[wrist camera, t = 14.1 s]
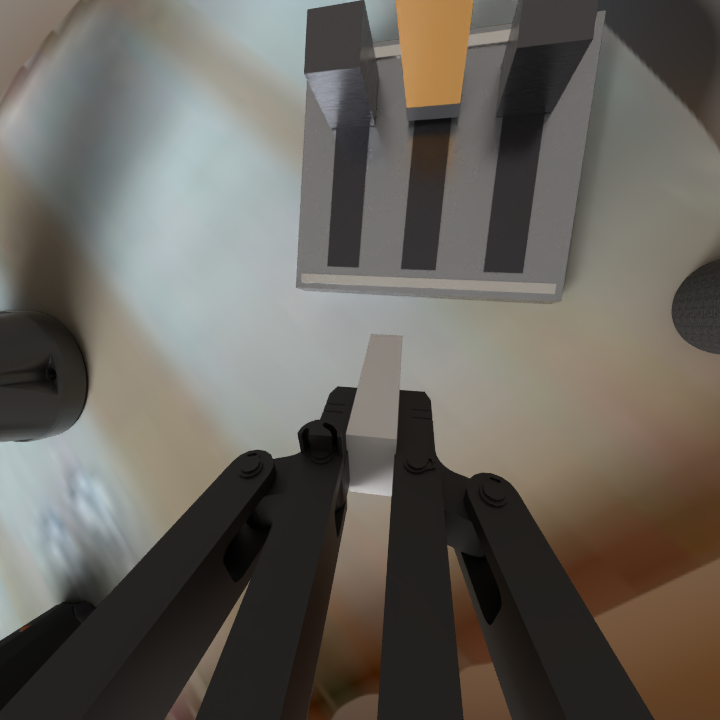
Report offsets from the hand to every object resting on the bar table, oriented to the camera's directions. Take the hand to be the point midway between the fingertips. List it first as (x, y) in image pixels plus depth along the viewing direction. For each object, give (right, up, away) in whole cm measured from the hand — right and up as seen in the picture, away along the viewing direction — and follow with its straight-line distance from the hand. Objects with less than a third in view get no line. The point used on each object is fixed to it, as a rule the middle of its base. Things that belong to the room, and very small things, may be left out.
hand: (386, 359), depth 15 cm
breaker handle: (+4, +19, +6) cm, 20 cm away
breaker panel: (+4, +14, +9) cm, 17 cm away
